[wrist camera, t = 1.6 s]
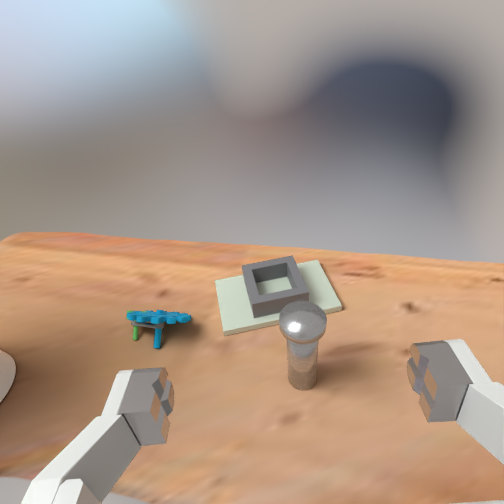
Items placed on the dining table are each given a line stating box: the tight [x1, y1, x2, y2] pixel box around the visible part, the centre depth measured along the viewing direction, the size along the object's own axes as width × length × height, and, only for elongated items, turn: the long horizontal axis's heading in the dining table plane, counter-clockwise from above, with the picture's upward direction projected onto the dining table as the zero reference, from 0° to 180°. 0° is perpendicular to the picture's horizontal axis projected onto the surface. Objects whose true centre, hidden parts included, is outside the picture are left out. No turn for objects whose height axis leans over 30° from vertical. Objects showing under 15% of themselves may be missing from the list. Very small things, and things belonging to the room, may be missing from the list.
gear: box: [126, 310, 191, 348], centre depth 56 cm, size 11×6×10 cm
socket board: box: [215, 256, 342, 336], centre depth 60 cm, size 20×12×5 cm, turn 101°
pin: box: [279, 301, 327, 390], centre depth 46 cm, size 6×6×13 cm
